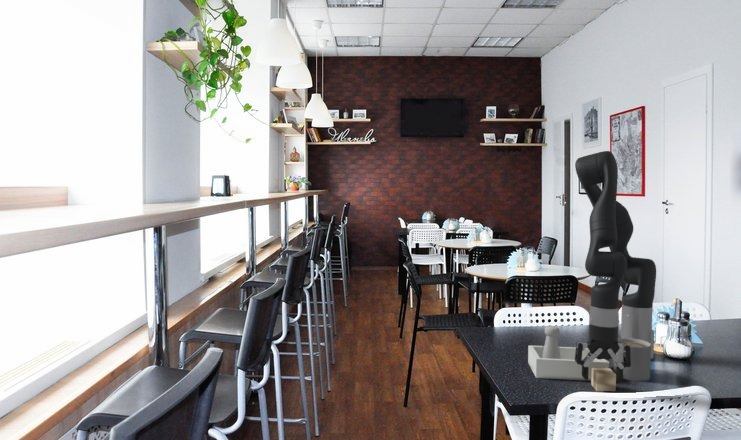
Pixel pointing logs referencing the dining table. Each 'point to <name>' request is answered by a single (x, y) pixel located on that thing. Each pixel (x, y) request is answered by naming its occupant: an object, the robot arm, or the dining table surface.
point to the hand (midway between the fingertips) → (601, 380)
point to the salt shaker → (551, 343)
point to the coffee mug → (636, 359)
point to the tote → (561, 364)
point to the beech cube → (603, 379)
